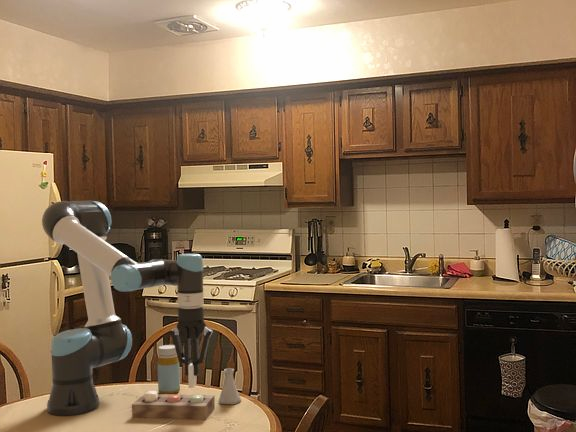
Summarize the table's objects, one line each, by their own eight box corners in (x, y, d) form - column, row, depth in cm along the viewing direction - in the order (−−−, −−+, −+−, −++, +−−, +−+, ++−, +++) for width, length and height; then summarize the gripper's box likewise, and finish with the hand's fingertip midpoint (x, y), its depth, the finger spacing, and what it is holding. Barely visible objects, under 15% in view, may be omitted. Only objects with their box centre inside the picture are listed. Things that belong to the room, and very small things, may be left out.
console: (132, 417, 180) (131, 404, 180) (145, 406, 189) (144, 393, 189) (205, 420, 176) (205, 406, 176) (214, 408, 186) (214, 395, 186)
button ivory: (142, 406, 182) (142, 394, 182) (147, 402, 186) (147, 390, 186) (155, 406, 182) (154, 394, 182) (159, 402, 186) (159, 391, 185)
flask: (237, 405, 188) (236, 373, 188) (215, 404, 190) (214, 372, 190) (244, 398, 196) (243, 366, 195) (222, 397, 197) (221, 366, 197)
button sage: (188, 410, 180) (188, 398, 180) (192, 406, 184) (192, 394, 184) (201, 411, 180) (201, 399, 180) (205, 406, 183) (204, 395, 183)
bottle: (177, 395, 201) (176, 349, 200) (156, 395, 201) (155, 349, 200) (181, 388, 208) (180, 344, 207) (161, 389, 208) (159, 344, 207)
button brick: (165, 410, 181) (165, 398, 181) (170, 406, 185) (169, 394, 185) (178, 410, 181) (177, 398, 181) (182, 406, 184) (181, 394, 184)
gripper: (165, 308, 179) (166, 389, 179) (208, 308, 177) (210, 390, 177) (173, 304, 186) (175, 382, 187) (215, 304, 184) (217, 383, 185)
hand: (192, 386), depth 182 cm, fingers closed
